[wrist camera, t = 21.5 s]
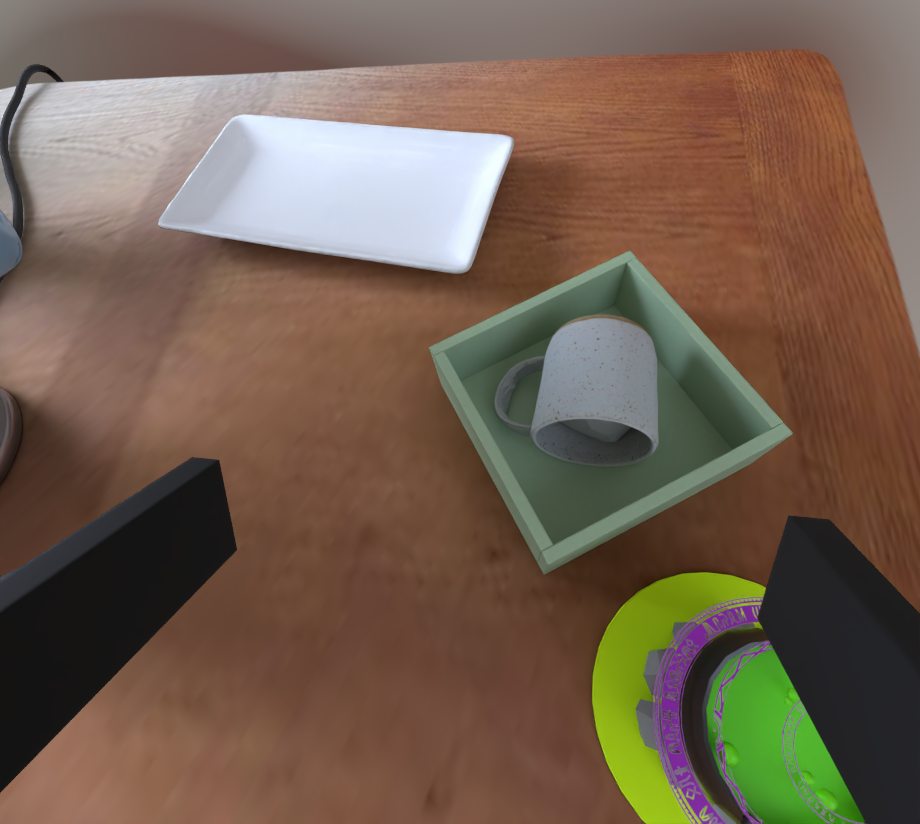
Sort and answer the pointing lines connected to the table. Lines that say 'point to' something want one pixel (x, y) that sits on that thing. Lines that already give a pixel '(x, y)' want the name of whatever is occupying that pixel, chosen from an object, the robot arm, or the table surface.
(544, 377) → the ceramic mug
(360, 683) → the table surface
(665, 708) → the toy cauldron
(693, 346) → the bin
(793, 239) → the table surface
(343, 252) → the tray
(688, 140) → the table surface
